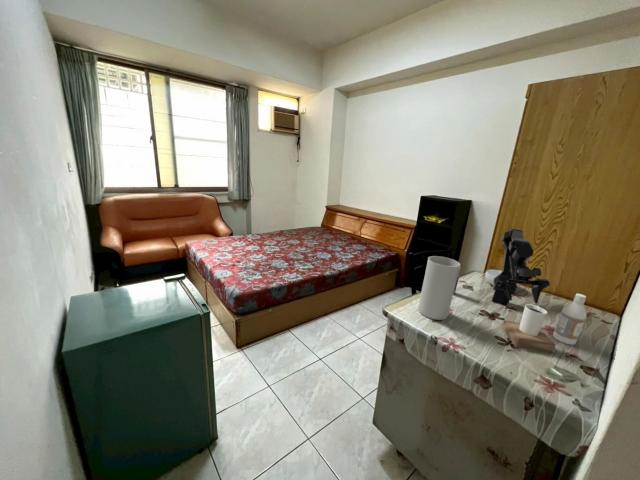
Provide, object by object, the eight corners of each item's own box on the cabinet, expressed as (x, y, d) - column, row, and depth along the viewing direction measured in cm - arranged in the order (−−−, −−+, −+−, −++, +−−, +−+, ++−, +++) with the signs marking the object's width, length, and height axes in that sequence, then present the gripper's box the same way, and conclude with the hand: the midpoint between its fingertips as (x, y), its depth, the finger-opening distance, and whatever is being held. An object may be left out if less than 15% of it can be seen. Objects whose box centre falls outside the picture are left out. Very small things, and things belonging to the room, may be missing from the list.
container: (456, 292, 140) (462, 266, 136) (453, 295, 136) (459, 269, 132) (447, 289, 143) (452, 264, 139) (444, 292, 139) (450, 266, 135)
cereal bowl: (479, 278, 163) (482, 267, 161) (509, 282, 159) (512, 272, 157) (488, 289, 147) (492, 278, 145) (522, 295, 143) (526, 283, 141)
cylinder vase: (434, 304, 126) (444, 255, 119) (454, 318, 114) (467, 266, 107) (412, 306, 122) (422, 256, 115) (430, 322, 110) (442, 267, 103)
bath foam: (566, 346, 101) (585, 300, 96) (548, 334, 108) (564, 291, 102) (580, 344, 103) (598, 299, 97) (560, 333, 109) (577, 290, 104)
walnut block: (501, 328, 110) (504, 320, 109) (533, 333, 108) (536, 325, 107) (516, 347, 98) (519, 337, 97) (552, 353, 96) (555, 344, 95)
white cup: (542, 334, 100) (551, 312, 98) (532, 338, 98) (540, 314, 95) (524, 325, 106) (531, 303, 103) (514, 327, 104) (521, 305, 101)
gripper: (502, 257, 109) (506, 294, 103) (555, 262, 105) (562, 300, 99) (491, 266, 119) (495, 300, 113) (539, 271, 115) (545, 306, 109)
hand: (523, 301), depth 108 cm, fingers open, 9 cm apart
